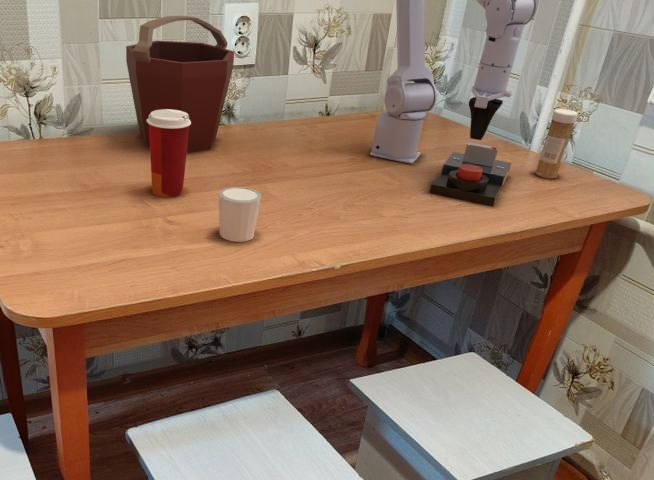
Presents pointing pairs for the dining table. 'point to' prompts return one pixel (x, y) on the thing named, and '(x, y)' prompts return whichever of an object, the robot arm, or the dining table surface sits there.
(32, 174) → the dining table surface
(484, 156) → the tap lever
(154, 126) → the paper cup
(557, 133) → the spice jar
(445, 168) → the base
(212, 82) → the bucket
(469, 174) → the red button
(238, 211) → the white tapered cup
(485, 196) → the button box
